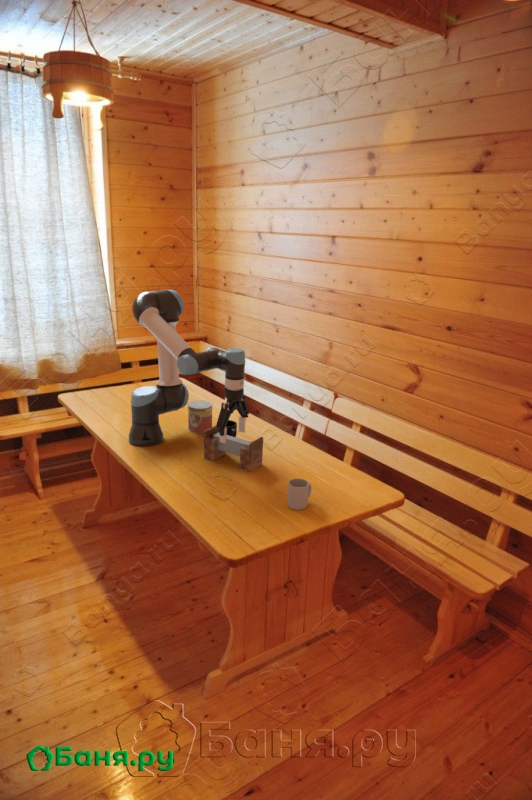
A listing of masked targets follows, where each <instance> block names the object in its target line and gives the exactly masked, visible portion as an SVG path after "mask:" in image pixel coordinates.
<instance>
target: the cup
mask: <svg viewBox="0 0 532 800" xmlns="http://www.w3.org/2000/svg"><path fill="white" fill-rule="evenodd" d="M287 483H288V484H287V496H286V497H287V498H286V499H287V501H286V503H287V504H286V505H287V507H288V508H289V509H291V510H293V509H295V510H294V511H301V510H300V509H303V510H305V509H306V508H307V507H308V500H309V498H310V496H311V493H312V485H311V483H310V482H309V481H308V480H306V479H304V478H297V477H296V478H291V479H289V480H288V481H287ZM304 508H305V509H304Z"/></svg>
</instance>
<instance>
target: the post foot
mask: <svg viewBox="0 0 532 800" xmlns="http://www.w3.org/2000/svg"><path fill="white" fill-rule="evenodd" d="M251 442H252V443H250V444H249V448H246V447H242V448H240V456H239V469H240V470H242V471H245V472H248V473H251V472H253V471H254V470H256V469H257V468H259V467H261V466H262V465H263V455H264V452H263V451H264V436H261V437H259V438H257V439H255V440H254V441H251Z"/></svg>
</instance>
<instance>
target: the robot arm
mask: <svg viewBox="0 0 532 800" xmlns="http://www.w3.org/2000/svg"><path fill="white" fill-rule="evenodd" d="M131 307H132V308H131V311H132V316H133V318H134V320H135V321H136V322H137V323H138V324H139V325H140V326H141V327H142V328H145V329H147V331H149V333H150V334H152V335H153V337H155V339H156V348H157V361H158V375H159V376H158V378H159V379H158V380H157V381H156V383H155V384H156V386H154V385H147V386H145V385H144V386H141V387H137V388H136V389H134V390H133V391H132V393H131V394H130V396H131V397H130V407H131V427H130V430H129V433H128V442H129V444H131V445H133V446H138V447H152V446H155V445H159V444H160V443H162V442H164V432H163V431H162V427H161V425H160V415H163V414H167V413H171V412H174V411H175V412H176V411H178V410H181V409H183V408H185V407H186V405H188V402H189V398H190V397H189V396H190V395H189V390H188V386H186V385H185V384H184V383H183V379H181V378H180V376H179V374H181V375H183V376H188V375H189V376H190V375H194V374H197V373H202V372H207V371H212V370H215V369H219V370H222V371H224V377H225V378H224V387H225V388H224V397H225V399H226V402H221V407H220V412H219V413H218V414H219V415H218V417H217V421H216V425H215V426H216V427H218V428H220V433H219V434H220V442H222V443H226V433H227V428H226V425H227V422H228V420H230V417H231V416H232V414H234V411H237V413H239V415H240V416H238V432H240V433H243V434H244V433H246V419H247V418H249V414H250V411H249V407H248V403H247V399H246V398H247V397H246V395H244V393H245V392H244V391H245V390H244V386H245V366H246V352H245V350H243V349H241V348H235V347H232V348H228V349H226V350H223V349H220V348H218V347H214V346H213V347H211V346H210V347H207V348H206V349H204V351H202V352H201V351H200V352H197V351H196V350H195V349H193V348H192V347H191V346H190V344H188V343H187V342H186V341H185V340H184V338H183V337H182V336H181V335H180V334H179V333H178V332H177V324H178V323H179V322H180V316H181V315H182V314H183V313H184V311H185V303H184V300H183V298H182V296H181V295H180V293H179V292H178V291H176V290H174V289H160V290H153V291H144V292H141V293H139V294H138V295H136V296H135V298H134V299H133V302H132V306H131ZM223 424H224V425H223Z"/></svg>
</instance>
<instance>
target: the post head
mask: <svg viewBox="0 0 532 800" xmlns="http://www.w3.org/2000/svg"><path fill="white" fill-rule="evenodd" d="M216 433H220V432H218V427H216V425H214V426H212V428H210V429H208V430H206V431H204V433H203V459H207V460H209V461H210V460H211V461H212V462H214V461H216V460H218V459H219V458H221V457H223V456H225V455H226V454H227V452H223V451H220V450H217V439H214V438H213V435H214V434H216ZM226 435H227V434H226Z"/></svg>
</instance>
